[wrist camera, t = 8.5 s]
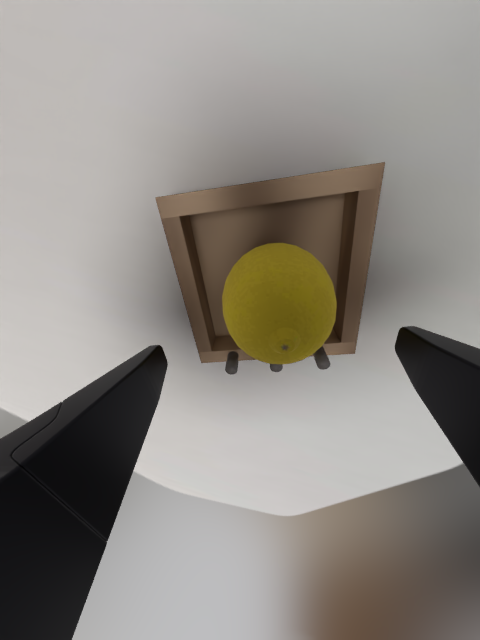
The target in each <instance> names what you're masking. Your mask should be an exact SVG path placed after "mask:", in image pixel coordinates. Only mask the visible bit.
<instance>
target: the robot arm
mask: <svg viewBox="0 0 480 640" xmlns="http://www.w3.org/2000/svg"><path fill="white" fill-rule="evenodd" d="M395 351H396V353H397V355H398V357H399V359H400V361H401V363H402V365H403V367H404V369H405V371H406V373H407V375H408V377H409V379H410V381H411V383H412V384H413V386H414V388H415V390H416V391H417V393H418V395H419V396H420V398H421V399H422V401H423V402H424V404H425V405H426V407H427V408H428V410H429V411H430V413H431V414H432V416H433V417H434V419H435V420H436V422H437V423H438V425H439V426H440V428H441V429H442V431H443V432H444V434H445V435H446V437H447V438H448V440H449V441H450V443H451V445H452V446H453V448H454V449H455V451H456V452H457V454H458V455H459V457H460V458H461V460H462V461H463V463H464V464H465V466H466V467H467V469H468V470H469V472H470V473H471V475H472V476H473V478H474V479H475V481H476V482H477V484H478V485H479V487H480V349H479V348H476V347H473V346H470V345H467V344H464V343H461V342H459V341H456V340H453V339H450V338H447V337H444V336H441V335H438V334H436V333H433V332H430V331H427V330H424V329H421V328H418V327H415V326H409V327H402V328H400V330H399V332H398V336H397V340H396V344H395ZM167 365H168V364H167V359H166V356H165V354H164V351H163V348H162V347H161V346H160V345H153V346H149V347H147V348H146V349H144V350H143V351H141V352H139V353H138V354H136V355H135V356H133V357H132V358H130V359H128V360H127V361H125V362H124V363H122V364H120V365H119V366H117V367H116V368H114V369H113V370H111V371H109V372H108V373H106V374H105V375H103V376H101V377H100V378H98V379H97V380H95V381H94V382H92V383H90V384H89V385H87V386H86V387H84V388H83V389H81V390H79V391H78V392H76V393H75V394H73V395H71V396H70V397H68V398H67V399H65V400H64V401H63V402H60V403H59V404H57V405H56V406H54V407H52V408H51V409H49V410H48V411H46V412H44V413H43V414H41V415H39V416H38V417H36V418H35V419H33V420H31V421H30V422H28V423H26V424H25V425H23V426H21V427H20V428H18V429H16V430H14V431H13V432H11V433H9V434H8V435H6V436H4V437H2V438H1V439H0V640H72V637H73V635H74V632H75V629H76V627H77V623H78V621H79V618H80V615H81V613H82V610H83V607H84V604H85V602H86V599H87V596H88V594H89V591H90V588H91V586H92V583H93V580H94V577H95V574H96V572H97V569H98V566H99V563H100V561H101V558H102V555H103V553H104V550H105V547H106V544H107V542H106V541H108V538H109V536H110V533H111V530H112V528H113V525H114V522H115V519H116V516H117V514H118V511H119V508H120V506H121V503H122V500H123V497H124V495H125V492H126V489H127V486H128V484H129V481H130V478H131V475H132V473H133V470H134V467H135V465H136V462H137V459H138V456H139V454H140V451H141V448H142V445H143V443H144V440H145V437H146V435H147V432H148V429H149V426H150V424H151V421H152V418H153V415H154V413H155V410H156V407H157V404H158V401H159V398H160V394H161V390H162V386H163V382H164V378H165V374H166V370H167Z"/></svg>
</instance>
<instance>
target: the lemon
mask: <svg viewBox="0 0 480 640" xmlns="http://www.w3.org/2000/svg"><path fill="white" fill-rule="evenodd" d="M222 305H223V316H224V320H225V323H226V326H227V329H228V331H229V334H230V335H231V337H232V338H233V340H234V341H235V343H236V344H237V346H238V347H240V348H241V349H242V350H243V351H244V352H245V353H246V354H248V355H249V356H251V357H253V358H255V359H257V360H259V361H262V362H266V363H270V364H290V363H294V362H297V361H301V360H303V359H305V358H306V357H308V356H310V355H312V354H313V353H315V352H316V351H317V350H318V349H319V348H320V347H322V345H323V344H324V342H325V341H326V340H327V338H328V337H329V335H330V334H331V331H332V328H333V326H334V323H335V319H336V308H337V302H336V296H335V291H334V286H333V283H332V280H331V278H330V276H329V275H328V273H327V271H326V269H325V268H324V266H323V265H322V264H321V263H320V262H319V261H318V260H317V259H316V258H315V257H314V256H313V255H312V254H311V253H309V252H308V251H306V250H304V249H302V248H300V247H298V246H296V245H291V244H286V243H268V244H265V245H262V246H259V247H256V248H254V249H252V250H251V251H249V252H248V253H246V254H244V255H243V256H242V257H241V258H240V259H239V260H238V261H237V262H236V264H235V265H234V266H233V267H232V269H231V271H230V273H229V275H228V277H227V279H226V281H225V286H224V290H223V295H222Z"/></svg>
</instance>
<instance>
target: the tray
mask: <svg viewBox="0 0 480 640" xmlns="http://www.w3.org/2000/svg"><path fill="white" fill-rule="evenodd" d="M384 166H385V162H383V163H377V164H370V165H364V166H357V167H351V168H344V169H338V170H331V171H325V172H318V173H312V174H305V175H299V176H292V177H286V178H279V179H273V180H266V181H260V182H253V183H247V184H240V185H234V186H227V187H221V188H214V189H208V190H201V191H195V192H188V193H182V194H175V195H169V196H162V197H156V202H157V206H158V209H159V213H160V216H161V220H162V224H163V227H164V231H165V234H166V238H167V241H168V245H169V249H170V252H171V256H172V259H173V263H174V267H175V270H176V274H177V277H178V281H179V284H180V288H181V292H182V295H183V299H184V302H185V306H186V310H187V313H188V317H189V320H190V324H191V327H192V331H193V335H194V338H195V342H196V345H197V349H198V353H199V356H200V360H201V363H208V362H224V361H227V362H226V368H225V371H226V372H227V373H228V374H235V373H236V372H237V368H238V361H241V360H257V359H255V358H253V357H251V356H249V355H248V354H246V353H245V352H244V351H243V350H242V349H241V348H240V347H238V346H237V344H236V343H235V341H234V340H233V338H232V337H231V335H230V334H229V331H228V329H227V326H226V323H225V320H224V316H223V305H222V295H223V290H224V286H225V281H226V279H227V277H228V275H229V273H230V271H231V269H232V267H233V266H234V265H235V264H236V262H237V261H238V260H239V259H240V258H241V257H242V256H243V255H244V254H246V253H248V252H249V251H251V250H252V249H254V248H256V247H259V246H262V245H265V244H268V243H286V244H291V245H296V246H298V247H300V248H302V249H304V250H306V251H308V252H309V253H311V254H312V255H313V256H314V257H315V258H316V259H317V260H318V261H319V262H320V263H321V264H322V265H323V266H324V268H325V269H326V271H327V273H328V275H329V276H330V278H331V280H332V283H333V286H334V291H335V296H336V302H337V308H336V319H335V323H334V326H333V328H332V331H331V334H330V335H329V337H328V338H327V340H326V341H325V342H324V344H323V345H322V347H320V348H319V349H318V350H317V351H316V352H315V353H313V354H312V355H310V356H314V358H315V361H316V363H317V366H318V368H319V369H327V368H328V367H329V366H330V361H329V359H328V357H327V355H339V354H355V350H356V343H357V337H358V331H359V324H360V318H361V312H362V305H363V299H364V293H365V286H366V280H367V274H368V267H369V261H370V255H371V248H372V242H373V236H374V229H375V223H376V216H377V210H378V204H379V197H380V191H381V185H382V178H383V172H384ZM282 368H283V366H282V364H270V369H271V370H272V371H274V372H279V371H281V370H282Z"/></svg>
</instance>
